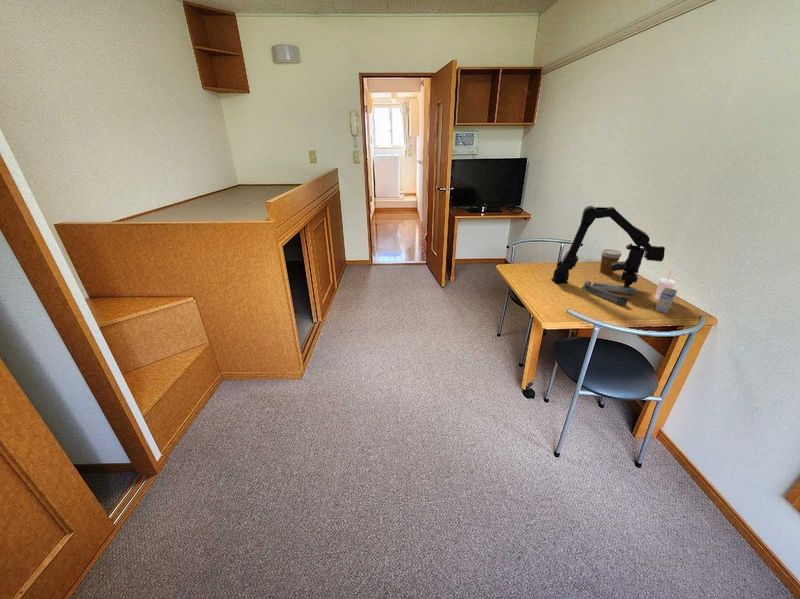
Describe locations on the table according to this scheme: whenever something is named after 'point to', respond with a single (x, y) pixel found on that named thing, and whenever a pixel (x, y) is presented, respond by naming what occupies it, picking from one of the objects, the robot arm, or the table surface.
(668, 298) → the medicine box
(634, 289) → the bar
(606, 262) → the disposable coffee cup
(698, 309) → the table surface
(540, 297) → the table surface
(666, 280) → the beverage cup
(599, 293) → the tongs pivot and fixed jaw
